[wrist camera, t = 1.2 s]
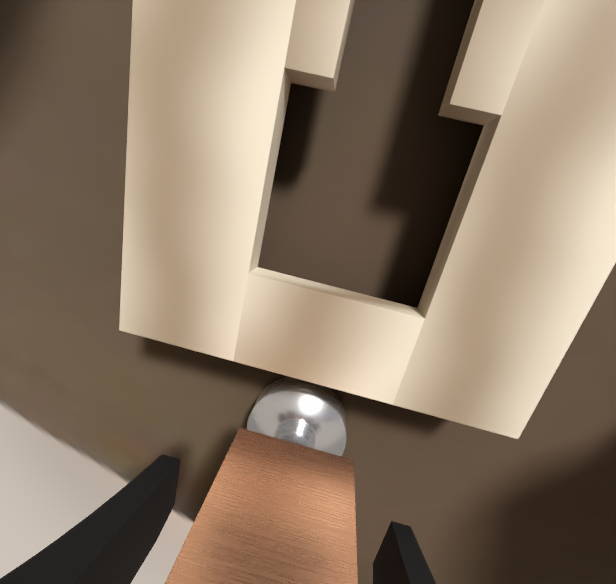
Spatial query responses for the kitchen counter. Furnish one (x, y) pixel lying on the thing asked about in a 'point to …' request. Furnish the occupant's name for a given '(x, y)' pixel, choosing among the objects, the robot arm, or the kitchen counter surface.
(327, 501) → the peg
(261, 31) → the keyhole plate
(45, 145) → the kitchen counter surface
